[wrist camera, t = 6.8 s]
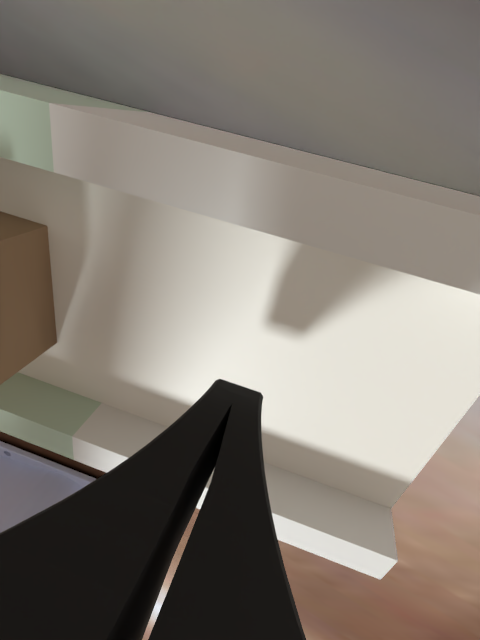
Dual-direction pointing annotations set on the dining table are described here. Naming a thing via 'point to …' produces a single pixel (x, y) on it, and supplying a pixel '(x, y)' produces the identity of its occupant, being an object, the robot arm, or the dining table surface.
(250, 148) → the tray
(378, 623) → the dining table surface
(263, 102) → the dining table surface
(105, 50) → the dining table surface
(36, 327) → the walnut block
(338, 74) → the dining table surface
